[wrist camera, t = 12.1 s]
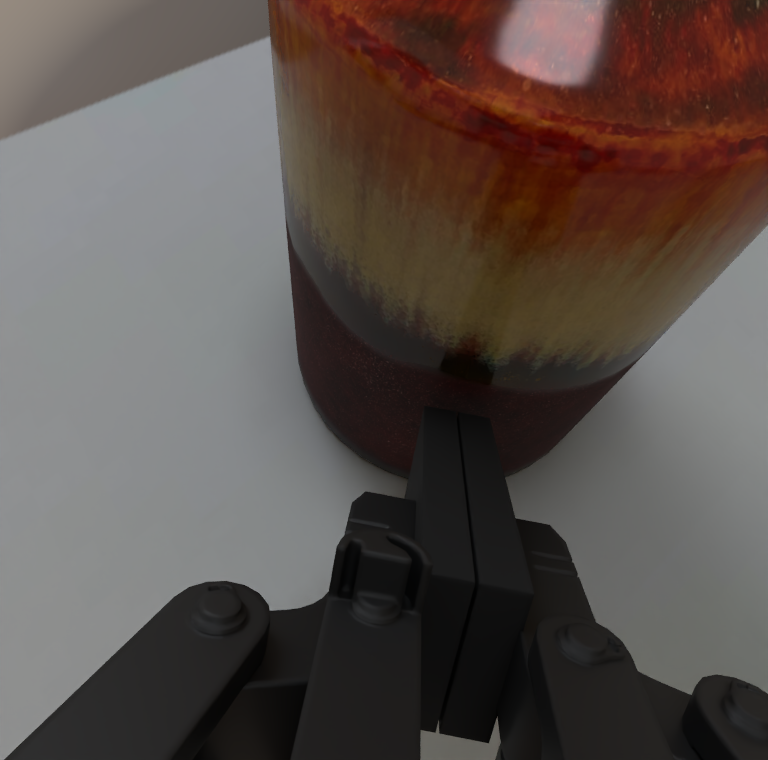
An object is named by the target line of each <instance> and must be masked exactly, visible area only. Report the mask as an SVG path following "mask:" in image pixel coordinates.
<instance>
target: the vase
mask: <svg viewBox="0 0 768 760" xmlns="http://www.w3.org/2000/svg"><path fill="white" fill-rule="evenodd" d="M268 9H269V23H270V37H271V51H272V64H273V75H274V87H275V99H276V111H277V122H278V134H279V146H280V157H281V169H282V181H283V193H284V204H285V216H286V228H287V239H288V251H289V262H290V273H291V285H292V296H293V307H294V318H295V330H296V341H297V351H298V361H299V366H300V370H301V374H302V377H303V381H304V384H305V387H306V389H307V391H308V393H309V395H310V398H311V400H312V402H313V404H314V406H315V408H316V409H317V411H318V412H319V414H320V415H321V417H322V418H323V420H324V421H325V423H326V424H327V426H328V427H329V428H330V429H331V430H332V431H333V432H334V433H335V434H336V435H337V436H338V437H339V438H340V439H341V441H342V442H343V443H344V444H346V445H347V446H348V447H350V448H351V449H352V450H353V451H355V452H356V453H357V454H359V455H360V456H361V457H363V458H364V459H366V460H368V461H369V462H371V463H373V464H375V465H377V466H378V467H380V468H382V469H384V470H386V471H389V472H391V473H394V474H397V475H399V476H402V477H405V478H407V479H409V475H410V470H411V466H412V461H413V456H414V452H415V447H416V442H417V438H418V433H419V428H420V424H421V419H422V414H423V409H424V405H425V406H430V407H435V408H440V409H445V410H451V411H456V418H457V415H458V412H461V413H466V414H472V415H477V416H482V417H487V418H490V421H491V425H492V429H493V433H494V437H495V441H496V445H497V449H498V453H499V457H500V460H501V464H502V468H503V472H504V476H505V477H506V476H508V475H510V474H513V473H515V472H517V471H519V470H521V469H524V468H526V467H528V466H530V465H531V464H533V463H534V462H536V461H537V460H539V459H540V458H541V457H543V456H544V455H546V454H547V453H548V452H549V451H550V450H551V449H553V448H554V447H555V446H556V445H557V444H558V443H559V442H560V441H561V440H562V439H563V438H564V437H565V436H566V434H567V433H568V432H569V431H570V430H571V429H572V428H573V427H574V426H575V425H576V424H577V423H578V422H579V421H580V420H581V419H582V418H583V417H584V416H585V415H586V414H587V413H588V412H589V411H590V410H591V409H592V408H593V407H594V406H595V405H596V404H597V403H598V402H599V401H600V400H601V399H602V397H603V396H604V395H605V394H606V393H607V392H608V391H609V390H610V389H611V388H612V387H613V386H614V385H615V384H616V383H617V382H618V381H619V380H620V379H621V378H622V377H623V376H624V375H625V374H626V373H627V372H628V370H629V369H630V368H631V367H632V366H633V365H634V364H635V363H636V362H637V361H638V360H639V359H640V358H641V357H642V356H643V355H644V354H645V353H646V352H647V351H648V350H649V349H650V348H651V347H652V346H653V345H654V343H655V342H656V341H657V340H658V339H659V338H660V337H661V336H662V335H663V334H664V333H665V332H666V331H667V330H668V329H669V328H670V327H671V326H672V325H673V324H674V323H675V322H676V321H677V319H678V318H679V317H680V316H681V315H682V314H683V313H684V312H685V311H686V310H687V309H688V308H689V307H690V306H691V305H692V304H693V303H694V302H695V301H696V300H697V299H698V298H699V296H700V295H701V294H702V293H703V292H704V291H705V290H706V289H707V288H708V287H709V286H710V285H711V284H712V283H713V282H714V281H715V280H716V279H717V278H718V277H719V276H720V275H721V274H722V272H723V271H724V270H725V269H726V268H727V267H728V266H729V265H730V264H731V263H732V262H733V261H734V260H735V259H736V258H737V257H738V256H739V255H740V254H741V253H742V252H743V251H744V249H745V248H746V247H747V246H748V245H749V244H750V243H751V242H752V241H753V240H754V239H755V238H756V237H757V236H758V235H759V234H760V233H761V232H762V231H763V230H764V229H765V228H766V226H767V225H768V0H268Z"/></svg>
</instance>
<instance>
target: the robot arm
mask: <svg viewBox="0 0 768 760" xmlns="http://www.w3.org/2000/svg"><path fill="white" fill-rule="evenodd" d="M497 716H498V724H499V732H500V740H501V743H500V746H499V749H498V753H497V756H496V759H495V760H768V694H767V693H766V692H764V691H762V690H761V689H760V688H758V687H756V686H754V685H752V684H750V683H747V682H745V681H742V680H739V679H737V678H734V677H728V676H722V675H712V676H707V677H703V678H702V679H701V680H700V681H699V682H698V684H697V685H696V686H695V689H694V691H693V693H692V695H689V694H687V693H685V692H682V691H680V690H677V689H675V688H673V687H670V686H668V685H666V684H663V683H661V682H659V681H656V680H654V679H652V678H650V677H648V676H646V675H644V674H642V673H640V672H638V671H637V668H636V666H635V664H634V661H633V659H632V656H631V654H630V653H629V651H628V650H627V648H626V647H625V645H624V644H623V642H622V641H621V640H620V639H618V638H617V637H616V636H615V635H614V634H613V633H612V632H611V631H609V630H608V629H607V628H605V627H603V626H601V625H599V624H598V623H596V621H595V619H594V616H593V613H592V611H591V608H590V605H589V603H588V600H587V597H586V595H585V592H584V589H583V587H582V584H581V581H580V579H579V577H577V571H576V568H575V566H574V563H572V558H571V555H570V552H569V550H568V547H567V544H566V542H565V541H564V540H563V539H562V538H561V537H560V536H559V534H558V533H557V532H556V531H555V530H554V529H553V528H552V527H551V526H550V525H547V524H542V523H537V522H531V521H526V520H521V519H516V518H515V515H514V511H513V508H512V504H511V500H510V496H509V492H508V488H507V484H506V480H505V476H504V472H503V468H502V464H501V460H500V457H499V453H498V449H497V445H496V441H495V437H494V433H493V429H492V425H491V421H490V418H487V417H482V416H477V415H472V414H466V413H461V412H458V415H457V418H456V411H451V410H445V409H440V408H435V407H430V406H425V405H424V409H423V414H422V419H421V424H420V428H419V433H418V438H417V442H416V447H415V452H414V456H413V461H412V466H411V470H410V475H409V480H408V485H407V489H406V494H405V499H402V498H397V497H392V496H387V495H382V494H377V493H371V492H364V493H363V494H362V495H361V496H360V497H358V498H357V499H356V500H355V501H354V502H352V505H351V510H350V514H349V518H348V522H347V526H346V531H345V535H344V537H343V538H342V539H341V541H340V542H339V544H338V546H337V549H336V554H335V560H334V565H333V571H332V577H331V582H330V588H329V592H328V593H327V594H326V595H325V596H324V597H323V598H322V599H320V600H319V601H317V602H315V603H314V604H311V605H308V606H305V607H302V608H298V609H290V610H277V611H269V605H268V604H267V602H266V601H265V600H264V599H263V597H262V596H261V595H260V594H259V593H258V592H256V591H254V590H252V589H251V588H249V587H247V586H245V585H242V584H237V583H233V582H228V581H217V582H205V583H202V584H198V585H195V586H192V587H189V588H187V589H186V590H184V591H183V592H181V593H180V594H178V595H177V596H175V597H174V598H173V599H172V600H171V601H170V602H169V603H168V604H166V605H165V606H164V607H163V608H162V609H161V610H160V611H159V612H158V613H157V614H156V615H155V616H154V617H153V618H152V619H151V620H150V621H149V622H148V623H147V624H146V625H145V626H143V627H142V628H141V629H140V630H139V631H138V632H137V633H136V634H135V635H134V636H133V637H132V638H131V639H130V640H129V641H128V642H127V643H126V644H125V645H124V646H123V647H122V648H120V649H119V650H118V651H117V652H116V653H115V654H114V655H113V656H112V657H111V658H110V659H109V660H108V661H107V662H106V663H105V664H104V665H103V666H102V667H101V668H100V669H99V670H97V671H96V672H95V673H94V674H93V675H92V676H91V677H90V678H89V679H88V680H87V681H86V682H85V683H84V684H83V685H82V686H81V687H80V688H79V689H78V690H77V691H75V692H74V693H73V694H72V695H71V696H70V697H69V698H68V699H67V700H66V701H65V702H64V703H63V704H62V705H61V706H60V707H59V708H58V709H57V710H56V711H55V712H54V713H52V714H51V715H50V716H49V717H48V718H47V719H46V720H45V721H44V722H43V723H42V724H41V725H40V726H39V727H38V728H37V729H36V730H35V731H34V732H33V733H32V734H31V735H29V736H28V737H27V738H26V739H25V740H24V741H23V742H22V743H21V744H20V745H19V746H18V747H17V748H16V749H15V750H14V751H13V752H12V753H11V754H10V755H9V756H8V757H6V758H5V759H4V760H420V734H421V730H424V731H430V732H436V728H437V724H438V721H439V733H440V734H445V735H450V736H455V737H460V738H465V739H470V740H475V741H480V742H485V743H489V741H490V738H491V735H492V731H493V728H494V725H495V721H496V718H497Z"/></svg>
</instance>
